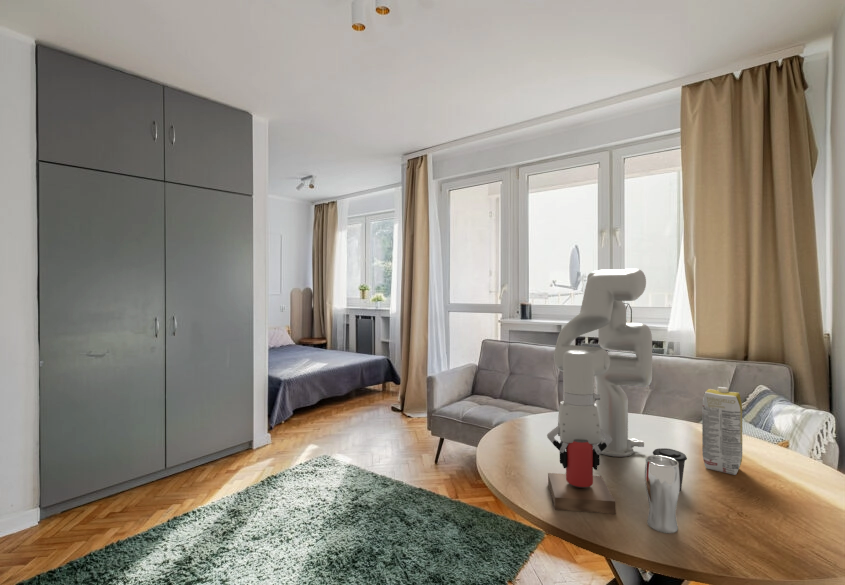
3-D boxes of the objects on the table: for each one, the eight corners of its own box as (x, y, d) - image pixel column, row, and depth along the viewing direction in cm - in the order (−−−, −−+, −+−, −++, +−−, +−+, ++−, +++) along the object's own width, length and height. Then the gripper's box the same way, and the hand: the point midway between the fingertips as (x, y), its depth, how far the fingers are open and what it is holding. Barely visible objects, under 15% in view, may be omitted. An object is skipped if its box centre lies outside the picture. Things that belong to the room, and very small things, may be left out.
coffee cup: (675, 497, 111) (675, 459, 111) (646, 485, 118) (645, 448, 118) (694, 490, 114) (693, 453, 114) (664, 478, 122) (664, 443, 122)
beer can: (595, 490, 108) (595, 442, 107) (567, 487, 109) (567, 440, 109) (590, 478, 114) (590, 433, 114) (564, 476, 115) (564, 432, 115)
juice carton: (743, 468, 127) (743, 388, 127) (739, 477, 122) (739, 393, 121) (706, 460, 134) (705, 383, 133) (700, 468, 128) (700, 388, 128)
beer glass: (638, 518, 101) (638, 455, 101) (666, 516, 102) (666, 453, 101) (657, 535, 94) (657, 467, 94) (687, 533, 95) (687, 466, 95)
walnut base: (601, 486, 117) (601, 475, 117) (615, 513, 103) (615, 501, 103) (548, 483, 119) (548, 472, 119) (555, 509, 106) (555, 497, 106)
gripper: (610, 395, 113) (610, 462, 114) (542, 394, 116) (543, 459, 117) (618, 403, 106) (619, 475, 106) (545, 401, 109) (546, 471, 109)
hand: (579, 466), depth 111 cm, fingers open, 6 cm apart
